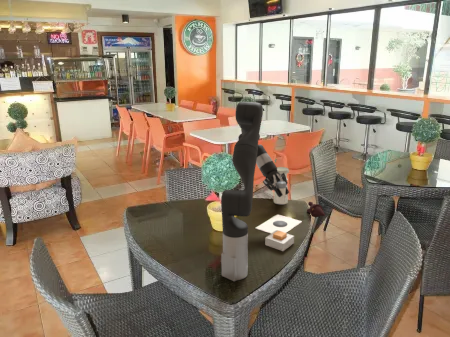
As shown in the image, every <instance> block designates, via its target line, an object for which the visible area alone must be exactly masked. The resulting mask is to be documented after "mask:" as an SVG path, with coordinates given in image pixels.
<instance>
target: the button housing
mask: <svg viewBox="0 0 450 337" xmlns="http://www.w3.org/2000/svg"><path fill="white" fill-rule="evenodd" d="M275 232H277V230H276V231H274V232H273V233H271V234H270V233H269V234H268V235H267V236H266V237H265V238H264V239H265V240H264V244H265V246H267V247H270V248H273V249H276V250H279V251H281V252H284V251H285V250H287V249H288V248H289V247H292V245H293V244H295V235H292V234H289V233H287V237H286V238H285V239H283V240H282V241H281V240H279V239H276V238H273V234H274V233H275Z"/></svg>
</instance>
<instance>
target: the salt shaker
mask: <svg viewBox="0 0 450 337" xmlns="http://www.w3.org/2000/svg"><path fill="white" fill-rule="evenodd" d="M277 186H278V188H279V189H280V191H281V193H282V194H283V195H282V196H281V197H279V196H278V195H277V204H276V205H281V204H282V205H286V204H285V192H286V182H283V181H280V182H277Z"/></svg>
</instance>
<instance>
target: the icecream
mask: <svg viewBox="0 0 450 337" xmlns="http://www.w3.org/2000/svg"><path fill="white" fill-rule="evenodd" d="M307 205H308V206H309V208H307V209H306V213H308V214H310V216H311V217H313V218H319V217H326V214H325V212H324V208H323V206H322V205H320V204H318V203H313V201H309V202H308V203H307Z"/></svg>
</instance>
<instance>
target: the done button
mask: <svg viewBox="0 0 450 337" xmlns="http://www.w3.org/2000/svg"><path fill="white" fill-rule="evenodd" d="M287 234H288V232H287V233H284V232H281V231H277V232H275V233H274V234H273V238H276V239H279V240H281V241H282V240H283V239H285V238H286V237H287Z"/></svg>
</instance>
